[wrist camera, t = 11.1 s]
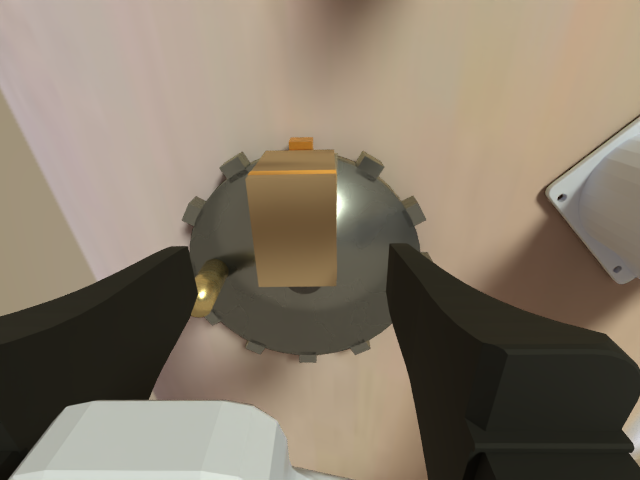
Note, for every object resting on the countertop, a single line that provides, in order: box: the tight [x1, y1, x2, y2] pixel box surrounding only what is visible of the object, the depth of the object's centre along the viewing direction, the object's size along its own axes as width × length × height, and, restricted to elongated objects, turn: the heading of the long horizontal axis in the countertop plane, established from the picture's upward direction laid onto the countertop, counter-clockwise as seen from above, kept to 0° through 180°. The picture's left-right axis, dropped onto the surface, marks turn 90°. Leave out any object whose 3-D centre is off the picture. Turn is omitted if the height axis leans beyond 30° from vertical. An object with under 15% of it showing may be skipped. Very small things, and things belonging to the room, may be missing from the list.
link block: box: [245, 150, 337, 287], centre depth 17 cm, size 5×4×5 cm
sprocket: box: [182, 137, 433, 363], centre depth 20 cm, size 15×15×5 cm
